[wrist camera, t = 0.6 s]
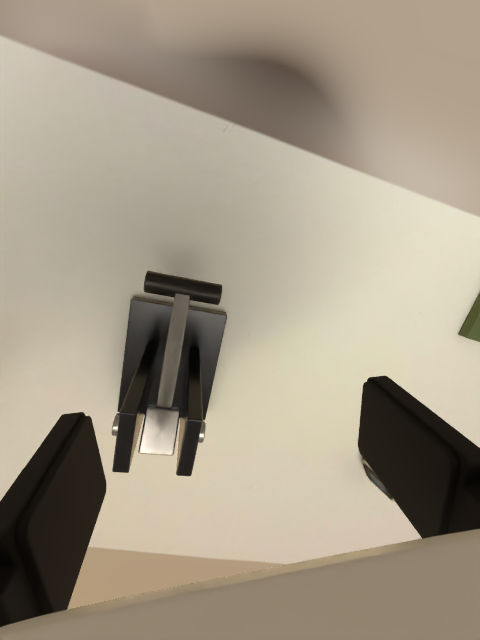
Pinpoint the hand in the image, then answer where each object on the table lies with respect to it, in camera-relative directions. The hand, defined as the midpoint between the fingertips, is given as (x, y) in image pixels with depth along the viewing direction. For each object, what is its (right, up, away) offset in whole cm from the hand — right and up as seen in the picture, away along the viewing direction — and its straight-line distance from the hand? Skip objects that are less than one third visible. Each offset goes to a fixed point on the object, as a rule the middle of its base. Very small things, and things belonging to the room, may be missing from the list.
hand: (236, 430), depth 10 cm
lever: (-5, +1, +12) cm, 13 cm away
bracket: (-7, 0, +21) cm, 22 cm away
